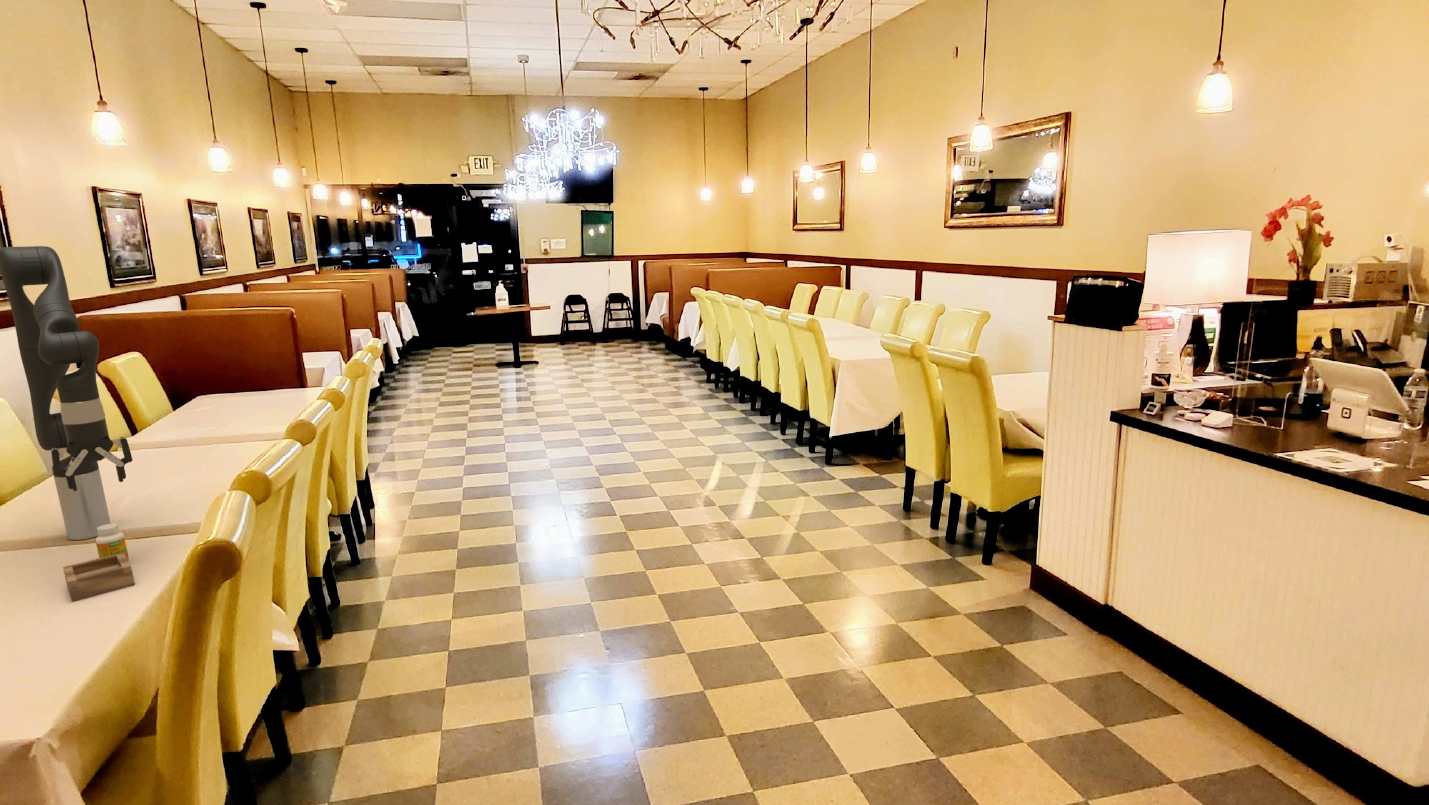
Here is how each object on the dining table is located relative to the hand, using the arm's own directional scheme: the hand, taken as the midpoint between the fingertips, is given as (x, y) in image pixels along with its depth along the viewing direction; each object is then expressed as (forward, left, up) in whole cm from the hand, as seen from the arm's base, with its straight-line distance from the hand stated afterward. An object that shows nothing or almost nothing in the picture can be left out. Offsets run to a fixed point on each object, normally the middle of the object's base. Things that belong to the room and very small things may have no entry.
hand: (98, 485), depth 178 cm
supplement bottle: (0, 0, -20) cm, 20 cm away
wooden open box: (+12, -4, -20) cm, 24 cm away
